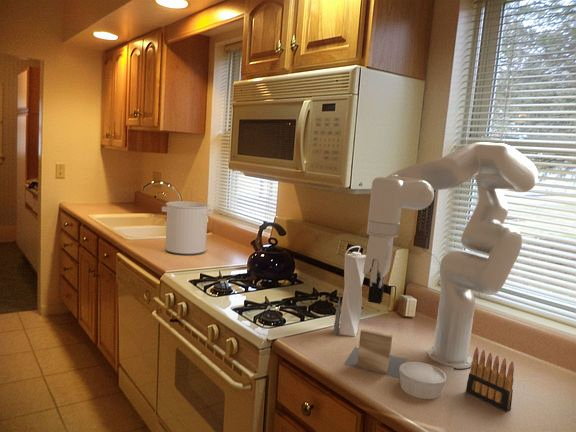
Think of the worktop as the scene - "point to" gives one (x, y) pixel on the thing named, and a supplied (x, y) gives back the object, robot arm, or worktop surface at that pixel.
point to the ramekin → (422, 380)
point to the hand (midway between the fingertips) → (374, 301)
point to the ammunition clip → (491, 381)
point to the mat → (392, 371)
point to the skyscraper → (351, 295)
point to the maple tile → (374, 350)
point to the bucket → (186, 227)
